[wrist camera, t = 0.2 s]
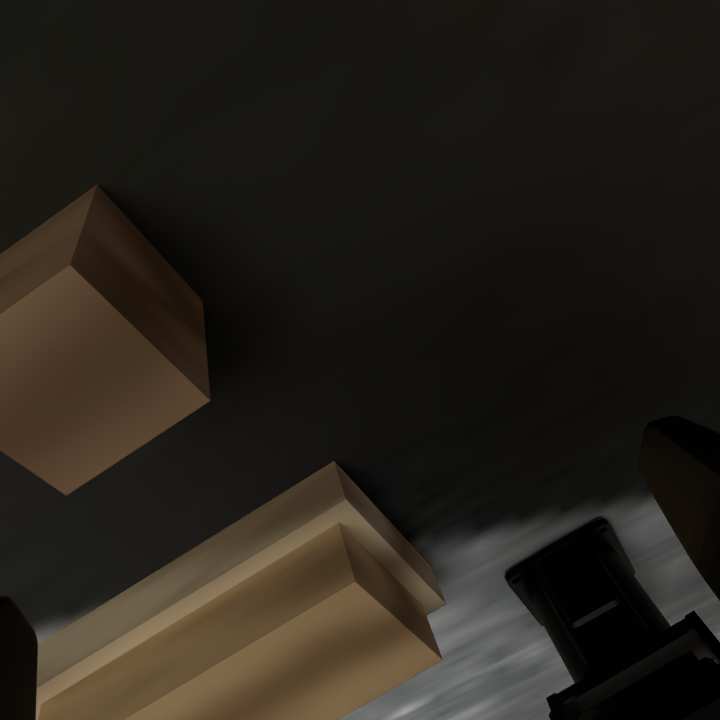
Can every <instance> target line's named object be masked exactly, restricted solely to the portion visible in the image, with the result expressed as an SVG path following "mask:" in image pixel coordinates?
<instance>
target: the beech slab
mask: <svg viewBox="0 0 720 720" xmlns="http://www.w3.org/2000/svg"><path fill="white" fill-rule="evenodd" d="M337 523H339V524H340V525H341V526H343V527H344V528H345V529H346V530H347V531H348V532H349V533H350V534H351V535H352V536H353V537H354V538H355V539H356V540H357V541H358V542H359V543H360V544H361V545H362V546H363V547H364V548H365V549H366V550H367V551H368V552H369V553H370V554H371V555H372V556H373V557H374V558H375V559H376V560H377V561H378V562H379V563H380V564H382V565H383V566H384V567H385V568H386V569H387V570H388V571H389V572H390V573H391V574H392V575H393V576H394V577H395V578H396V579H397V580H398V581H399V582H400V583H401V584H402V585H403V586H404V587H405V588H406V589H407V590H408V591H409V592H410V593H411V594H412V595H413V596H414V597H415V598H416V599H417V600H418V601H419V602H420V603H421V604H422V606H423V608H424V611H425V614H426V615H428V614H430V613H432V612H433V611H435V610H437V609H438V608H440V607H442V606H444V605H445V604H446V602H445V600H444V598H443V595H442V593H441V590H440V588H439V585H438V583H437V581H436V578H435V576H434V573H433V571H432V568H431V566H430V565H429V564H428V563H427V562H426V560H425V559H424V558H423V557H422V556H421V555H420V554H419V553H418V552H417V551H416V550H415V548H414V547H413V546H412V545H411V544H410V543H409V542H408V541H407V540H406V539H405V538H404V537H403V535H402V534H401V533H400V532H399V531H398V530H397V529H396V528H395V527H394V526H393V525H392V523H391V522H390V521H389V520H388V519H387V518H386V517H385V516H384V515H383V514H382V513H381V511H380V510H379V509H378V508H377V507H376V506H375V505H374V504H373V503H372V502H371V501H370V499H369V498H368V497H367V496H366V495H365V494H364V493H363V492H362V491H361V490H360V489H359V487H358V486H357V485H356V484H355V483H354V482H353V481H352V480H351V479H350V478H349V477H348V476H347V474H346V473H345V472H344V471H343V470H342V469H341V468H340V467H339V466H338V465H337V464H336V462H335V461H333V462H332V463H330V464H329V465H327V466H325V467H324V468H322V469H320V470H319V471H317V472H316V473H314V474H312V475H311V476H309V477H308V478H306V479H304V480H303V481H301V482H300V483H298V484H296V485H295V486H293V487H291V488H290V489H288V490H287V491H285V492H283V493H282V494H280V495H279V496H277V497H275V498H274V499H272V500H271V501H269V502H267V503H266V504H264V505H262V506H261V507H259V508H258V509H256V510H254V511H253V512H251V513H250V514H248V515H246V516H245V517H243V518H242V519H240V520H238V521H237V522H235V523H233V524H232V525H230V526H229V527H227V528H225V529H224V530H222V531H221V532H219V533H217V534H216V535H214V536H212V537H211V538H209V539H208V540H206V541H204V542H203V543H201V544H200V545H198V546H196V547H195V548H193V549H192V550H190V551H188V552H187V553H185V554H183V555H182V556H180V557H179V558H177V559H175V560H174V561H172V562H171V563H169V564H167V565H166V566H164V567H163V568H161V569H159V570H158V571H156V572H154V573H153V574H151V575H150V576H148V577H146V578H145V579H143V580H142V581H140V582H138V583H137V584H135V585H134V586H132V587H130V588H129V589H127V590H125V591H124V592H122V593H121V594H119V595H117V596H116V597H114V598H113V599H111V600H109V601H108V602H106V603H105V604H103V605H101V606H100V607H98V608H96V609H95V610H93V611H92V612H90V613H88V614H87V615H85V616H84V617H82V618H80V619H79V620H77V621H76V622H74V623H72V624H71V625H69V626H67V627H66V628H64V629H63V630H61V631H59V632H58V633H56V634H55V635H53V636H51V637H50V638H48V639H47V640H45V641H43V642H42V643H40V644H38V664H37V697H36V720H38V718H39V712H40V707H41V705H42V704H43V703H45V702H46V701H48V700H50V699H51V698H53V697H55V696H56V695H58V694H60V693H61V692H63V691H64V690H66V689H68V688H69V687H71V686H73V685H74V684H76V683H77V682H79V681H81V680H82V679H84V678H86V677H87V676H89V675H91V674H92V673H94V672H95V671H97V670H99V669H100V668H102V667H104V666H105V665H107V664H109V663H110V662H112V661H113V660H115V659H117V658H118V657H120V656H122V655H123V654H125V653H126V652H128V651H130V650H131V649H133V648H135V647H136V646H138V645H140V644H141V643H143V642H144V641H146V640H148V639H149V638H151V637H153V636H154V635H156V634H157V633H159V632H161V631H162V630H164V629H166V628H167V627H169V626H171V625H172V624H174V623H175V622H177V621H179V620H180V619H182V618H184V617H185V616H187V615H189V614H190V613H192V612H193V611H195V610H197V609H198V608H200V607H202V606H203V605H205V604H206V603H208V602H210V601H211V600H213V599H215V598H216V597H218V596H220V595H221V594H223V593H224V592H226V591H228V590H229V589H231V588H233V587H234V586H236V585H237V584H239V583H241V582H242V581H244V580H246V579H247V578H249V577H251V576H252V575H254V574H255V573H257V572H259V571H260V570H262V569H264V568H265V567H267V566H269V565H270V564H272V563H273V562H275V561H277V560H278V559H280V558H282V557H283V556H285V555H286V554H288V553H290V552H291V551H293V550H295V549H296V548H298V547H300V546H301V545H303V544H304V543H306V542H308V541H309V540H311V539H313V538H314V537H316V536H317V535H319V534H321V533H322V532H324V531H326V530H327V529H329V528H331V527H332V526H334V525H335V524H337Z"/></svg>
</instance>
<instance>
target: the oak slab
mask: <svg viewBox="0 0 720 720" xmlns="http://www.w3.org/2000/svg"><path fill="white" fill-rule="evenodd" d="M442 660H443V659H442V656H441V654H440V651H439V648H438V646H437V643H436V640H435V638H434V635H433V632H432V630H431V627H430V624H429V622H428V619H427V616H426V614H425V611H424V608H423V606H422V604H421V603H420V602H419V601H418V600H417V599H416V598H415V597H414V596H413V595H412V594H411V593H410V592H409V591H408V590H407V589H406V588H405V587H404V586H403V585H402V584H401V583H400V582H399V581H398V580H397V579H396V578H395V577H394V576H393V575H392V574H391V573H390V572H389V571H388V570H387V569H386V568H385V567H384V566H383V565H382V564H380V563H379V562H378V561H377V560H376V559H375V558H374V557H373V556H372V555H371V554H370V553H369V552H368V551H367V550H366V549H365V548H364V547H363V546H362V545H361V544H360V543H359V542H358V541H357V540H356V539H355V538H354V537H353V536H352V535H351V534H350V533H349V532H348V531H347V530H346V529H345V528H344V527H343V526H341V525H340V524H339V523H337V524H335V525H334V526H332V527H331V528H329V529H327V530H326V531H324V532H322V533H321V534H319V535H317V536H316V537H314V538H313V539H311V540H309V541H308V542H306V543H304V544H303V545H301V546H300V547H298V548H296V549H295V550H293V551H291V552H290V553H288V554H286V555H285V556H283V557H282V558H280V559H278V560H277V561H275V562H273V563H272V564H270V565H269V566H267V567H265V568H264V569H262V570H260V571H259V572H257V573H255V574H254V575H252V576H251V577H249V578H247V579H246V580H244V581H242V582H241V583H239V584H237V585H236V586H234V587H233V588H231V589H229V590H228V591H226V592H224V593H223V594H221V595H220V596H218V597H216V598H215V599H213V600H211V601H210V602H208V603H206V604H205V605H203V606H202V607H200V608H198V609H197V610H195V611H193V612H192V613H190V614H189V615H187V616H185V617H184V618H182V619H180V620H179V621H177V622H175V623H174V624H172V625H171V626H169V627H167V628H166V629H164V630H162V631H161V632H159V633H157V634H156V635H154V636H153V637H151V638H149V639H148V640H146V641H144V642H143V643H141V644H140V645H138V646H136V647H135V648H133V649H131V650H130V651H128V652H126V653H125V654H123V655H122V656H120V657H118V658H117V659H115V660H113V661H112V662H110V663H109V664H107V665H105V666H104V667H102V668H100V669H99V670H97V671H95V672H94V673H92V674H91V675H89V676H87V677H86V678H84V679H82V680H81V681H79V682H77V683H76V684H74V685H73V686H71V687H69V688H68V689H66V690H64V691H63V692H61V693H60V694H58V695H56V696H55V697H53V698H51V699H50V700H48V701H46V702H45V703H43V704H42V705H41V707H40V712H39V718H38V720H339V719H340V718H342V717H344V716H346V715H347V714H349V713H351V712H353V711H354V710H356V709H358V708H360V707H361V706H363V705H365V704H367V703H368V702H370V701H372V700H374V699H375V698H377V697H379V696H381V695H382V694H384V693H386V692H388V691H389V690H391V689H393V688H395V687H396V686H398V685H400V684H402V683H403V682H405V681H407V680H409V679H410V678H412V677H414V676H416V675H417V674H419V673H421V672H423V671H424V670H426V669H428V668H430V667H431V666H433V665H435V664H437V663H438V662H440V661H442Z"/></svg>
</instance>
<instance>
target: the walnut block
mask: <svg viewBox="0 0 720 720" xmlns="http://www.w3.org/2000/svg"><path fill="white" fill-rule="evenodd" d="M209 401H210V389H209V376H208V363H207V350H206V337H205V324H204V311H203V301H202V300H201V298H200V297H199V296H198V295H197V294H196V293H195V292H194V291H193V290H192V289H191V287H190V286H189V285H188V284H187V283H186V282H185V281H184V280H183V279H182V278H181V276H180V275H179V274H178V273H177V272H176V271H175V270H174V269H173V268H172V266H171V265H170V264H169V263H168V262H167V261H166V260H165V259H164V258H163V257H162V255H161V254H160V253H159V252H158V251H157V250H156V249H155V248H154V247H153V246H152V244H151V243H150V242H149V241H148V240H147V239H146V238H145V237H144V236H143V235H142V233H141V232H140V231H139V230H138V229H137V228H136V227H135V226H134V225H133V224H132V222H131V221H130V220H129V219H128V218H127V217H126V216H125V215H124V214H123V213H122V211H121V210H120V209H119V208H118V207H117V206H116V205H115V204H114V203H113V201H112V200H111V199H110V198H109V197H108V196H107V195H106V194H105V193H104V192H103V190H102V189H101V188H100V187H99V186H98V185H96V186H94V187H93V188H92V189H90V190H89V191H88V192H86V193H85V194H83V195H82V196H81V197H79V198H78V199H76V200H75V201H74V202H72V203H71V204H70V205H68V206H67V207H65V208H64V209H63V210H61V211H60V212H58V213H57V214H56V215H54V216H53V217H51V218H50V219H49V220H47V221H46V222H45V223H43V224H42V225H40V226H39V227H38V228H36V229H35V230H33V231H32V232H31V233H29V234H28V235H27V236H25V237H24V238H22V239H21V240H20V241H18V242H17V243H15V244H14V245H13V246H11V247H10V248H8V249H7V250H6V251H4V252H3V253H2V254H0V451H2V452H3V453H5V454H6V455H8V456H9V457H11V458H12V459H14V460H15V461H17V462H18V463H19V464H21V465H22V466H24V467H25V468H27V469H28V470H30V471H31V472H33V473H34V474H36V475H37V476H38V477H40V478H41V479H43V480H44V481H46V482H47V483H49V484H50V485H52V486H53V487H55V488H56V489H57V490H59V491H60V492H62V493H63V494H65V495H68V494H69V493H71V492H72V491H74V490H75V489H77V488H78V487H80V486H81V485H83V484H84V483H86V482H88V481H89V480H91V479H92V478H94V477H95V476H97V475H98V474H100V473H101V472H103V471H104V470H106V469H107V468H109V467H110V466H112V465H113V464H115V463H116V462H118V461H119V460H121V459H122V458H124V457H126V456H127V455H129V454H130V453H132V452H133V451H135V450H136V449H138V448H139V447H141V446H142V445H144V444H145V443H147V442H148V441H150V440H151V439H153V438H154V437H156V436H157V435H159V434H160V433H162V432H164V431H165V430H167V429H168V428H170V427H171V426H173V425H174V424H176V423H177V422H179V421H180V420H182V419H183V418H185V417H186V416H188V415H189V414H191V413H192V412H194V411H195V410H197V409H198V408H200V407H202V406H203V405H205V404H206V403H208V402H209Z"/></svg>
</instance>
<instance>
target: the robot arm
mask: <svg viewBox="0 0 720 720" xmlns="http://www.w3.org/2000/svg"><path fill="white" fill-rule="evenodd" d="M639 469H640V473H641V475H642V477H643V479H644V481H645V483H646V485H647V486H648V488H649V490H650V491H651V493H652V495H653V496H654V498H655V500H656V502H657V503H658V505H659V507H660V508H661V510H662V512H663V513H664V515H665V517H666V519H667V520H668V522H669V524H670V525H671V527H672V529H673V530H674V532H675V534H676V536H677V537H678V539H679V541H680V542H681V544H682V546H683V548H684V549H685V551H686V553H687V554H688V556H689V557H690V559H691V561H692V562H693V564H694V565H695V567H696V568H697V570H698V571H699V573H700V574H701V575H702V577H703V578H704V580H705V581H706V583H707V584H708V585H709V587H710V588H711V589H712V591H713V592H714V593H715V595H716V596H717V598H718V599H719V600H720V433H718V432H715V431H713V430H711V429H708V428H706V427H703V426H701V425H699V424H696V423H694V422H691V421H689V420H686V419H684V418H681V417H678V416H669V417H665V418H661V419H658V420H654V421H651V422H649V423H648V425H647V426H646V428H645V431H644V436H643V441H642V446H641V451H640V456H639ZM634 575H635V571H634V569H633V567H632V565H631V563H630V561H629V559H628V557H627V555H626V553H625V551H624V550H623V548H622V546H621V544H620V542H619V540H618V538H617V536H616V534H615V532H614V531H613V529H612V527H611V525H610V524H609V522H608V521H607V520H606V519H603V518H602V519H598V520H596V521H594V522H593V523H591V524H589V525H588V526H586V527H584V528H582V529H581V530H579V531H577V532H576V533H574V534H572V535H570V536H569V537H567V538H565V539H563V540H562V541H560V542H558V543H557V544H555V545H553V546H551V547H550V548H548V549H546V550H545V551H543V552H541V553H539V554H538V555H536V556H534V557H533V558H531V559H529V560H527V561H526V562H524V563H522V564H520V565H519V566H517V567H515V568H514V569H512V570H510V571H509V572H507V574H506V575H505V579H506V581H507V583H508V585H509V586H510V588H511V589H512V590H513V591H514V592H515V594H516V595H517V596H518V597H519V599H520V600H521V601H522V602H523V604H524V605H525V606H526V607H527V609H528V610H529V611H530V612H531V614H532V615H533V616H534V617H535V619H536V620H537V621H538V622H539V623H540V625H542V626H544V627H545V629H546V631H547V632H548V634H549V636H550V638H551V640H552V642H553V644H554V645H555V647H556V649H557V651H558V653H559V655H560V656H561V658H562V660H563V662H564V664H565V666H566V667H567V669H568V671H569V673H570V675H571V677H572V678H573V680H574V682H575V684H573V685H571V686H569V687H568V688H566V689H564V690H563V691H561V692H559V693H558V694H556V693H554V694H552V695H550V696H549V697H547V698H546V699H547V702H548V704H549V707H550V709H551V712H550V714H549V717H550V719H551V720H720V642H719V641H718V640H717V638H716V637H715V636H714V635H713V633H712V632H711V631H710V630H709V629H708V627H707V626H706V625H705V624H704V622H703V621H702V620H701V619H700V617H699V616H698V615H697V614H696V613H695V611H692V612H691V613H689V614H687V615H686V616H685V619H683V620H681V621H680V622H678V623H676V624H674V625H673V626H670V624H669V623H668V622H667V620H666V619H665V618H664V616H663V615H662V613H661V612H660V611H659V609H658V608H657V607H656V605H655V604H654V603H653V601H652V600H651V598H650V597H649V596H648V594H647V593H646V592H645V590H644V589H643V588H642V586H641V585H640V583H639V582H638V581H637V579H636V578H635V577H634ZM714 660H715V661H716V662H715V661H714ZM37 664H38V642H37V637H36V634H35V631H34V629H33V628H32V626H31V625H30V623H29V622H28V621H27V619H26V618H25V617H24V615H23V614H22V613H21V611H20V610H19V608H18V607H17V606H16V604H15V603H14V602H13V600H12V599H11V598H9V597H7V596H0V720H36V697H37Z"/></svg>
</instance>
